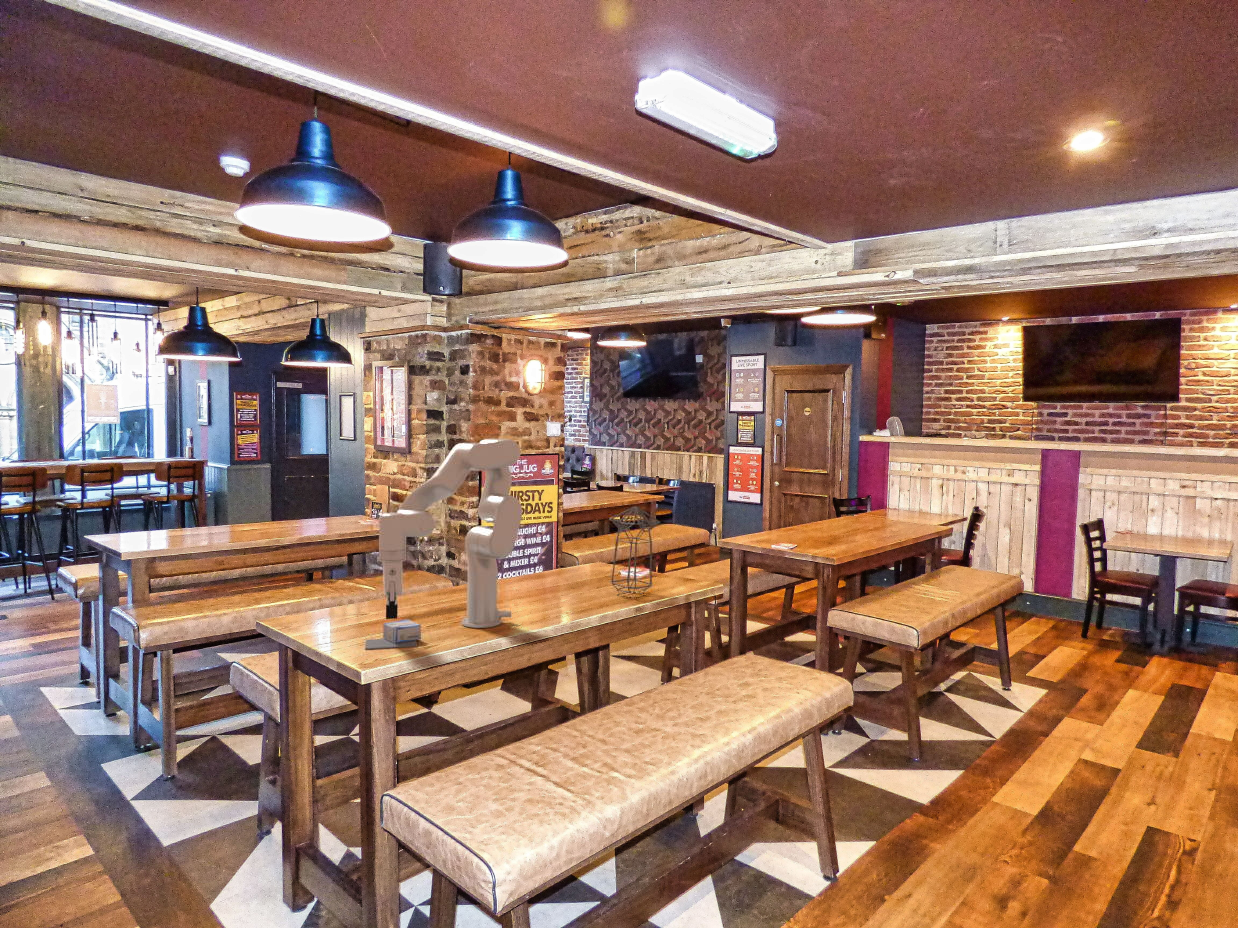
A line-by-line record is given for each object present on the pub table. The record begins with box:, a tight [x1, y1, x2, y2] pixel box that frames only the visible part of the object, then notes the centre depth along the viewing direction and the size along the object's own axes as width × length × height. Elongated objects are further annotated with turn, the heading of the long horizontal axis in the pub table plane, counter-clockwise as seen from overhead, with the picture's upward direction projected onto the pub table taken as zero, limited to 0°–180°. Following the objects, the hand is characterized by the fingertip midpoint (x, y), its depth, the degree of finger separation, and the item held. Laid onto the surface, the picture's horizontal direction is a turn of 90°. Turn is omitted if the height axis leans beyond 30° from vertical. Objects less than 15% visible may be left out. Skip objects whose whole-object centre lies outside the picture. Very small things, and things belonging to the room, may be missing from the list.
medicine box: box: [382, 619, 422, 644], centre depth 213 cm, size 8×4×9 cm
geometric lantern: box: [608, 506, 661, 594], centre depth 281 cm, size 16×16×35 cm
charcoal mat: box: [364, 638, 418, 651], centre depth 209 cm, size 14×9×1 cm, turn 108°
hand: (391, 617), depth 210 cm, fingers closed
